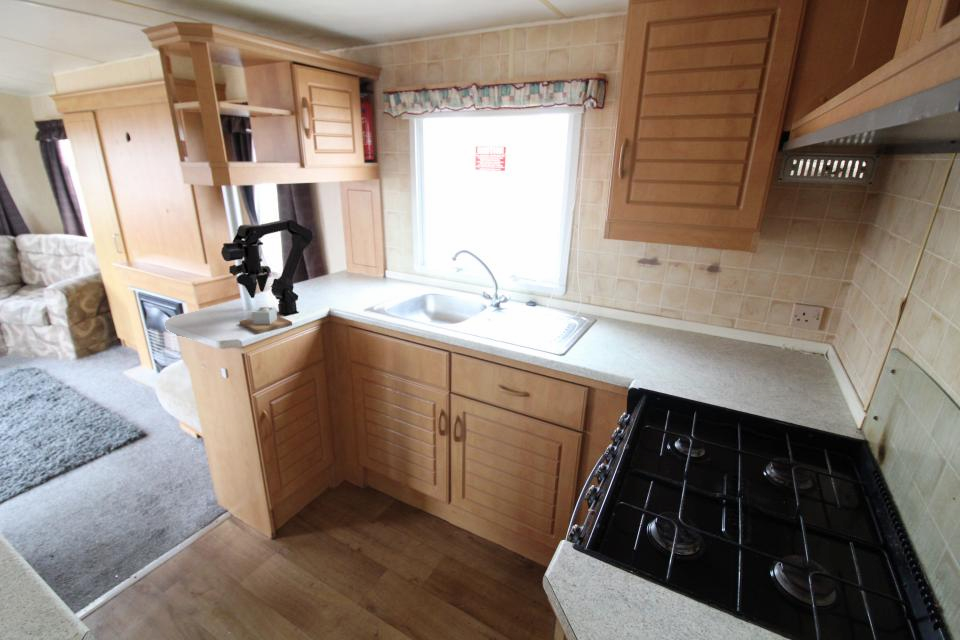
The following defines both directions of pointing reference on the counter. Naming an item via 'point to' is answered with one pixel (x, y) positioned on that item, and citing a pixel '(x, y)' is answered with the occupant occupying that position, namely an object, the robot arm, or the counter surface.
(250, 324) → the board
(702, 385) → the counter surface
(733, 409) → the counter surface
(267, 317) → the duct collar
